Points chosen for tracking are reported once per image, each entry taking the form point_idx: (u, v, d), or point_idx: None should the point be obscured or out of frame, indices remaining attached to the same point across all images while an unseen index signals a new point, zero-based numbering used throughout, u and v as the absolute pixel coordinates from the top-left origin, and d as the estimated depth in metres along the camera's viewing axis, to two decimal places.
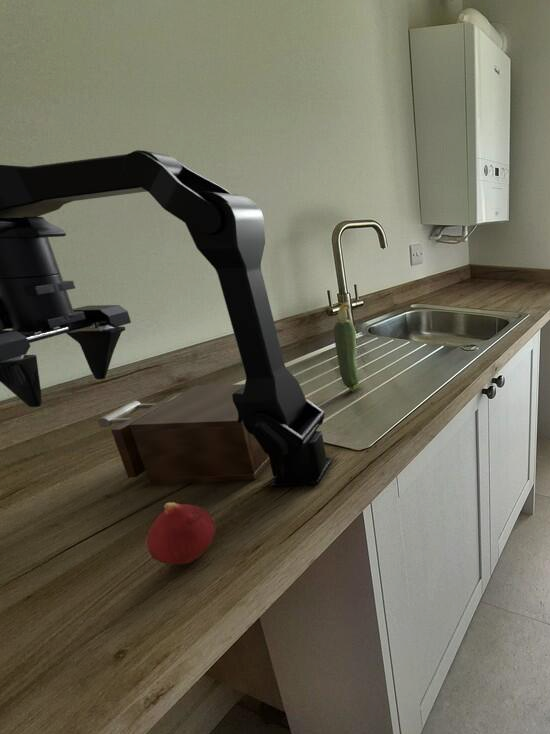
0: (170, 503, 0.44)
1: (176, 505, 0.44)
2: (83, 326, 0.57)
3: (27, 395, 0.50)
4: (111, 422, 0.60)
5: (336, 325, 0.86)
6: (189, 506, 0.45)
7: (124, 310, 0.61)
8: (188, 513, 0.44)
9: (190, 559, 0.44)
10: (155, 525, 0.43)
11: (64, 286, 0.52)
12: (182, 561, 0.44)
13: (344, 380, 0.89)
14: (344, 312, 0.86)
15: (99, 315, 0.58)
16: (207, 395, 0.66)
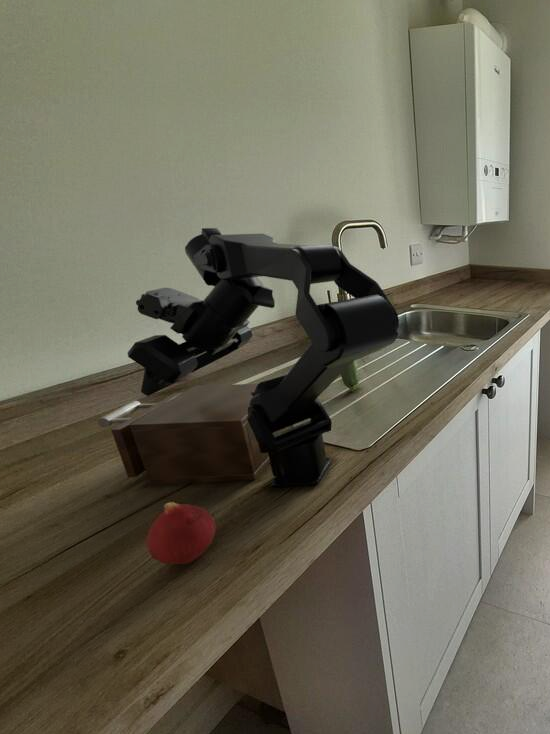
0: (170, 503, 0.44)
1: (176, 505, 0.44)
2: None
3: (151, 387, 0.57)
4: (111, 422, 0.60)
5: None
6: (189, 506, 0.45)
7: (251, 335, 0.69)
8: (188, 513, 0.44)
9: (190, 559, 0.44)
10: (155, 525, 0.43)
11: (243, 326, 0.61)
12: (182, 561, 0.44)
13: (344, 380, 0.89)
14: None
15: (235, 336, 0.66)
16: (207, 395, 0.66)
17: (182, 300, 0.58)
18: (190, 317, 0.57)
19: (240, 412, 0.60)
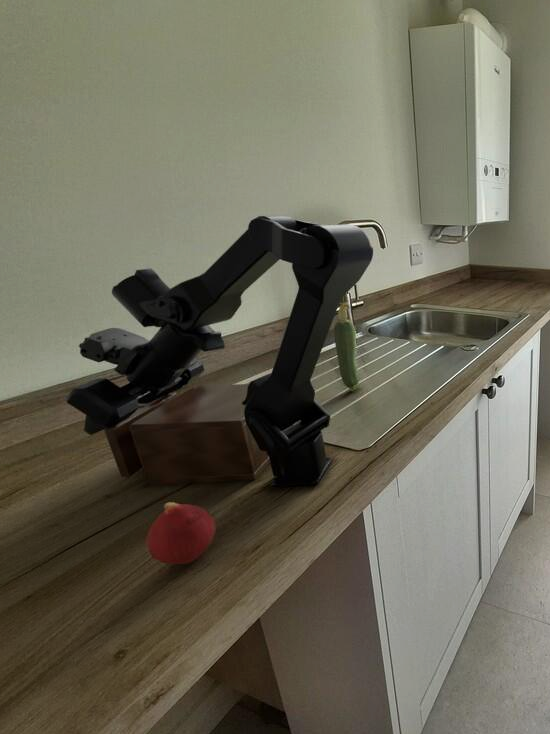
0: (170, 503, 0.44)
1: (176, 505, 0.44)
2: None
3: (93, 427, 0.58)
4: None
5: (336, 325, 0.86)
6: (189, 506, 0.45)
7: (202, 370, 0.70)
8: (188, 513, 0.44)
9: (190, 559, 0.44)
10: (155, 525, 0.43)
11: (189, 366, 0.63)
12: (182, 561, 0.44)
13: (344, 380, 0.89)
14: (344, 312, 0.86)
15: (185, 372, 0.67)
16: (207, 395, 0.66)
17: (127, 341, 0.59)
18: (134, 360, 0.58)
19: (240, 412, 0.60)
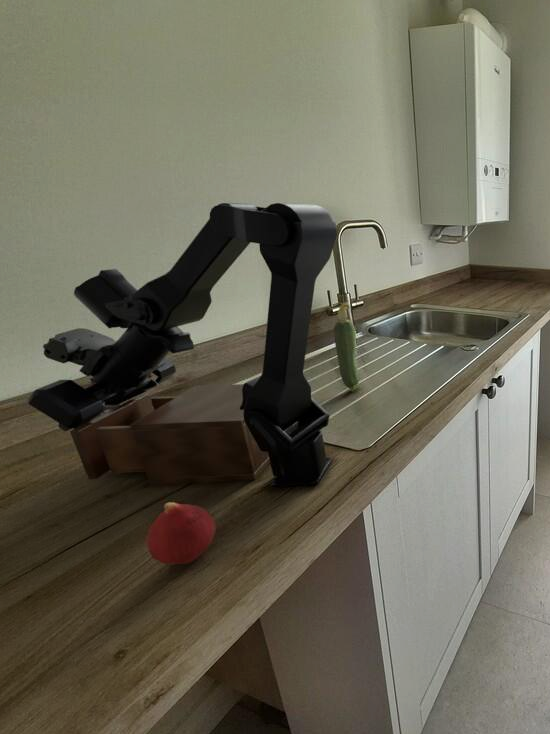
0: (170, 503, 0.44)
1: (176, 505, 0.44)
2: None
3: None
4: None
5: (336, 325, 0.86)
6: (189, 506, 0.45)
7: (174, 371, 0.70)
8: (188, 513, 0.44)
9: (190, 559, 0.44)
10: (155, 525, 0.43)
11: (157, 367, 0.62)
12: (182, 561, 0.44)
13: (344, 380, 0.89)
14: (344, 312, 0.86)
15: (155, 373, 0.67)
16: (207, 395, 0.66)
17: (94, 342, 0.59)
18: (100, 360, 0.58)
19: (240, 412, 0.60)
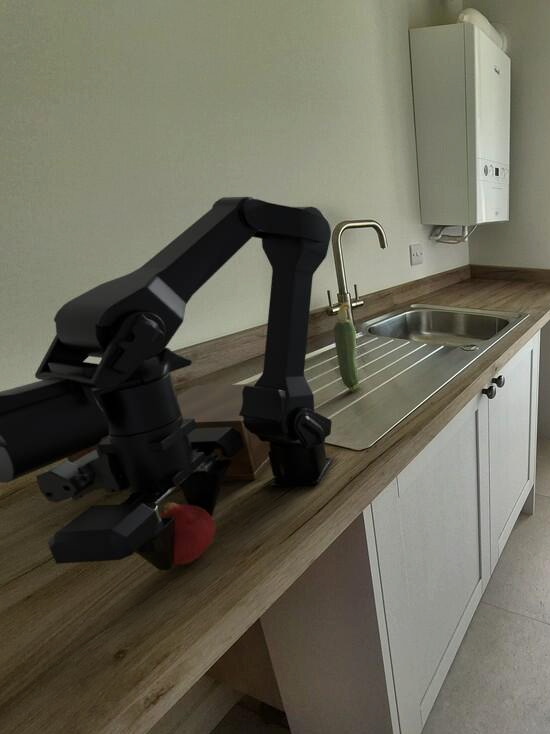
0: (170, 503, 0.44)
1: (176, 505, 0.44)
2: None
3: (160, 559, 0.42)
4: None
5: (336, 325, 0.86)
6: (189, 506, 0.45)
7: (238, 433, 0.51)
8: (188, 513, 0.44)
9: (190, 559, 0.44)
10: None
11: (186, 429, 0.42)
12: (182, 561, 0.44)
13: (344, 380, 0.89)
14: (344, 312, 0.86)
15: (214, 447, 0.48)
16: (207, 395, 0.66)
17: None
18: (114, 465, 0.40)
19: None
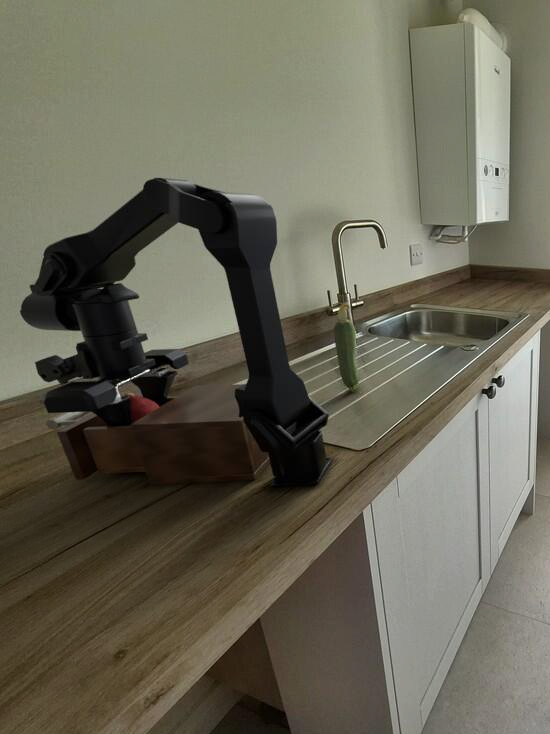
0: (129, 393, 0.62)
1: (133, 395, 0.62)
2: (143, 373, 0.64)
3: None
4: (59, 424, 0.60)
5: (336, 325, 0.86)
6: (143, 397, 0.63)
7: (183, 353, 0.69)
8: (142, 401, 0.62)
9: None
10: None
11: (140, 339, 0.61)
12: None
13: (344, 380, 0.89)
14: (344, 312, 0.86)
15: (164, 359, 0.66)
16: (207, 395, 0.66)
17: None
18: (88, 359, 0.58)
19: None
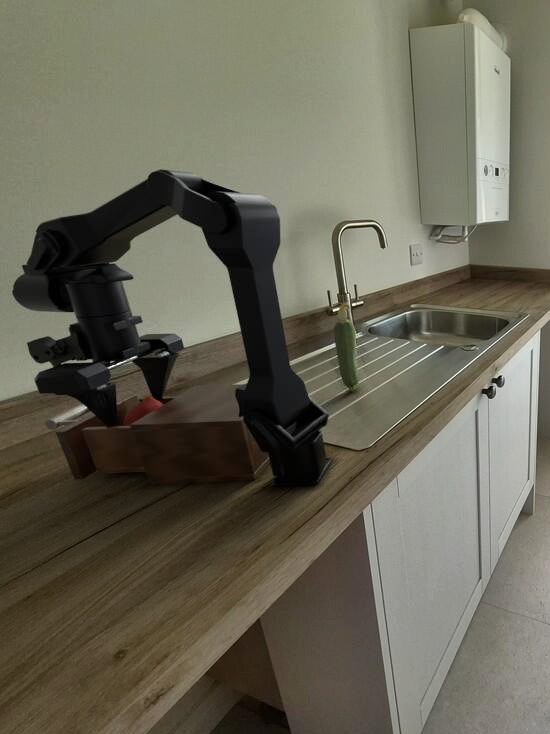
0: (148, 395, 0.66)
1: (151, 397, 0.66)
2: (145, 354, 0.65)
3: (106, 416, 0.58)
4: (58, 424, 0.60)
5: (336, 325, 0.86)
6: None
7: (179, 338, 0.68)
8: (157, 403, 0.66)
9: None
10: (134, 406, 0.64)
11: (134, 321, 0.60)
12: None
13: (344, 380, 0.89)
14: (344, 312, 0.86)
15: (159, 344, 0.65)
16: (207, 395, 0.66)
17: None
18: (81, 340, 0.57)
19: None
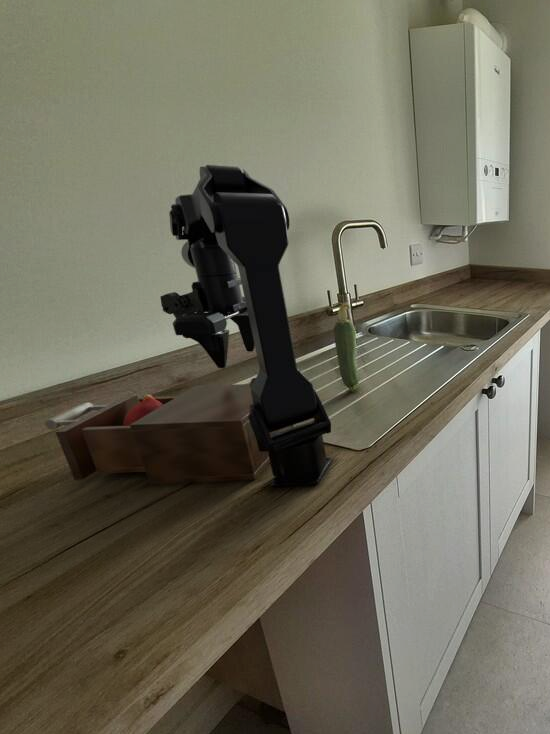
0: (148, 395, 0.66)
1: (151, 397, 0.66)
2: (242, 311, 0.77)
3: (219, 359, 0.70)
4: (58, 424, 0.60)
5: (336, 325, 0.86)
6: None
7: None
8: (157, 403, 0.66)
9: None
10: (134, 406, 0.64)
11: (239, 282, 0.72)
12: None
13: (344, 380, 0.89)
14: (344, 312, 0.86)
15: None
16: (207, 395, 0.66)
17: None
18: (200, 296, 0.70)
19: (240, 412, 0.60)
